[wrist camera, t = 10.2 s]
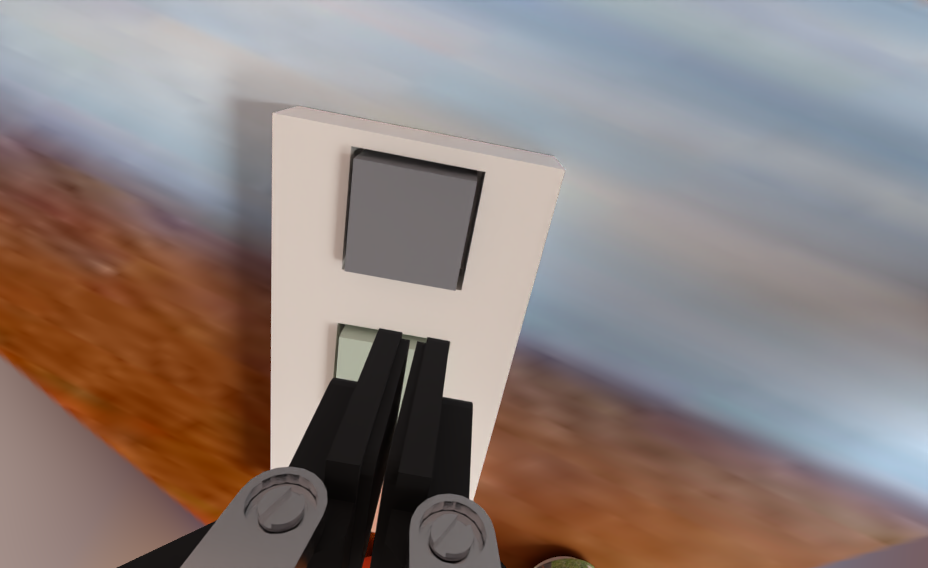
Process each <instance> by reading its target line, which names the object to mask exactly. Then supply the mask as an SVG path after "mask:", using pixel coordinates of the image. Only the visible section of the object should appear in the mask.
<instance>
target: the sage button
mask: <svg viewBox="0 0 928 568" xmlns="http://www.w3.org/2000/svg"><path fill="white" fill-rule="evenodd" d="M377 332H378V330H377V329H371V328H365V327H359V326H353V325H348V324H345V326H344V328H343V330H342V332H341V334H340V336H339V345H338V358H337V370H336V378H341V379H346V380H352V381H357V382H358V379H359V377H360V374H361V372H362V369H363V367H364V364H365V362H366V359H367V357H368V354H369V352H370V349H371V347H372V344H373V342H374V339H375V337H376V334H377ZM402 339H408V340H410V345H409V351H408V358H407V364H406V370H405V376H404V382H403V388H402V394H401V400H400V407H399V412H400V408H401V404H402V400H403V396H404V392H405V388H406V384H407V380H408V376H409V372H410V368H411V364H412V360H413V356H414V352H415V348H416V344H417V341H419V342H424V343H426V341H427V338H423V337H418V336H412V335H406V334H402ZM398 416H399V413H398ZM397 420H398V419H397Z"/></svg>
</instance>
